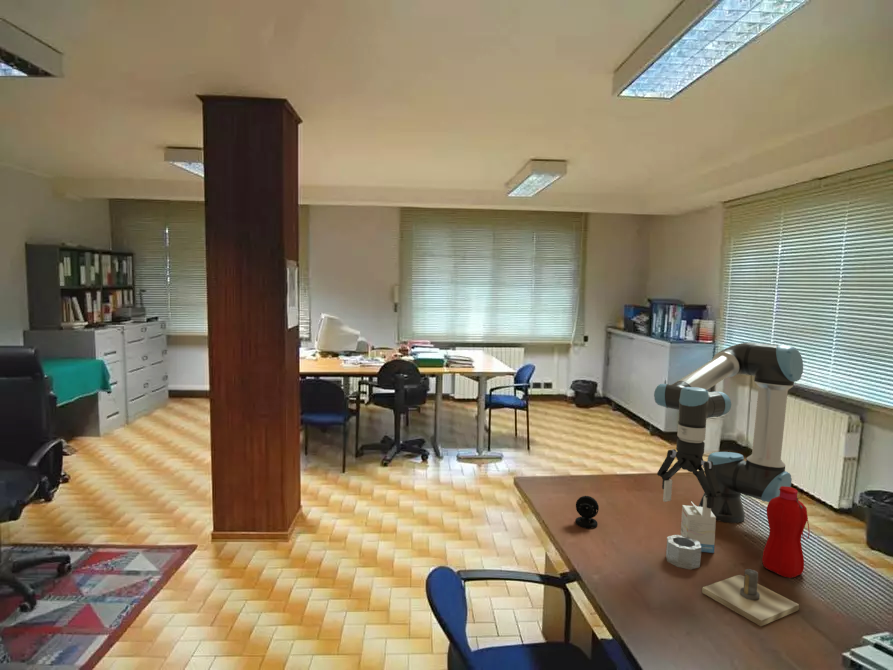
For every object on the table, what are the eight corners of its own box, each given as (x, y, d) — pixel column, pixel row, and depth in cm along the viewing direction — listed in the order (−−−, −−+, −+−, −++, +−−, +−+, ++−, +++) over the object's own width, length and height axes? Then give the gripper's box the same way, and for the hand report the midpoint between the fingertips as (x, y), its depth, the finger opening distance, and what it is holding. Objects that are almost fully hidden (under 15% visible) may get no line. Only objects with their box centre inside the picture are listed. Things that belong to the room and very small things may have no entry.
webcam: (573, 526, 181) (574, 498, 180) (576, 518, 188) (577, 490, 187) (596, 530, 178) (598, 502, 177) (598, 522, 185) (600, 494, 184)
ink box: (714, 553, 164) (717, 512, 163) (685, 550, 166) (688, 509, 165) (706, 541, 173) (709, 501, 172) (679, 538, 174) (682, 499, 173)
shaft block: (739, 579, 149) (741, 552, 149) (798, 610, 135) (801, 580, 134) (702, 592, 142) (704, 564, 141) (760, 626, 128) (763, 594, 127)
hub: (680, 551, 165) (681, 533, 164) (705, 564, 157) (707, 545, 156) (660, 557, 161) (661, 538, 160) (685, 571, 153) (686, 551, 152)
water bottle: (795, 584, 147) (803, 498, 146) (757, 566, 157) (763, 484, 155) (814, 577, 152) (821, 493, 150) (775, 560, 161) (782, 480, 160)
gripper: (648, 430, 165) (643, 496, 167) (721, 452, 143) (715, 527, 145) (664, 428, 169) (660, 492, 170) (738, 449, 147) (733, 523, 148)
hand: (685, 509), depth 158 cm, fingers open, 13 cm apart
